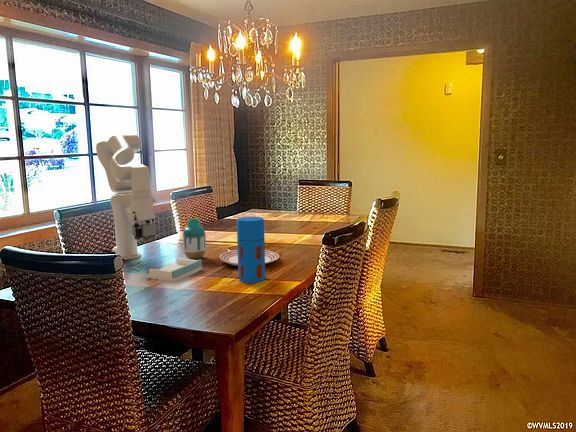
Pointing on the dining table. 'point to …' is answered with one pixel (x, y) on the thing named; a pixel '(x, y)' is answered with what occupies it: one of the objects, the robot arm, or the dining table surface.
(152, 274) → the loading dock
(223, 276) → the dining table surface
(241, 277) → the thermos
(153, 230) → the lidded gray box
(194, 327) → the dining table surface
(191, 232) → the vase
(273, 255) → the dinner plate
